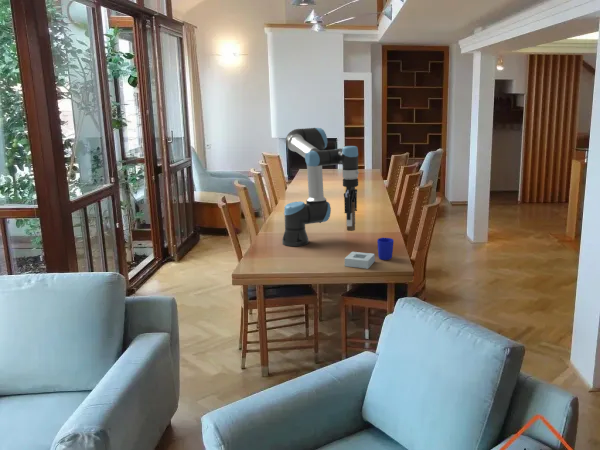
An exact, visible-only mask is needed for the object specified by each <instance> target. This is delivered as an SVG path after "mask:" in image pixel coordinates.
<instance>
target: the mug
mask: <svg viewBox="0 0 600 450" xmlns="http://www.w3.org/2000/svg"><path fill="white" fill-rule="evenodd" d="M394 241H395V240H394V239H393V238H391V237H381V238H378V239H377V254H378V255H377V256H378V258H379V259H380V260H382V261H387V260H388V261H389V260H391V259H392V258H393V251H394V250H393V249H394Z"/></svg>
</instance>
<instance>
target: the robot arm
mask: <svg viewBox="0 0 600 450" xmlns="http://www.w3.org/2000/svg"><path fill="white" fill-rule="evenodd" d="M285 145H286V147H287V149H289V150H290V151H292V152H294V153H295V152H296V153H297V154H299V155H300V156H301V157H303V159H304V160H305V161H304V162H305V163H306V171H307V188H308V189H307V190H308V197H307V199H306V201H305V202H306V203H305V202H304V201H292V202H290V203H287V204H286V205H284V210H283V211H284V213H283V215H284V232H283V236H282V240H281V241H282V245H284V246H285V247H286V246H287V247H302V246H306V245H308V244H309V236H308V234H307V231H306V225H312V224H318V223H319V224H321V223H325V222H327V221H329V219H330V217H331V213H332V212H331V211H332V210H331V209H332V208H331V204H330V202H329V201H327V198H326V197H325V196H324V182H323V181H324V179H323V177H324V176H323V167H325V166H334V165H335V166H336V165H342V178H343V179H342V186H343V187H344V188H345V192H344V193H343V198H344V199H343V200H344V201H343V204H344V212H343V213H344V214H346V227H347V226H352V213H351V210H352V202H355V212H357V211H358V204H357V203H358V201H357V200H358V197H357V196H358V189H357V187H358V186H359V174H360V171H359V148H358V146H356V145H346V146H342V148H334V149H326V148H327V147H328V136H327V133H326V131H325V130H324V129H323V128H321V127H311V128H310V127H309V128H308V127H307V128H296V129H293V130H291V131H290V132H289V133H288V134H287V135H286V137H285Z"/></svg>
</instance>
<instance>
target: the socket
mask: <svg viewBox="0 0 600 450" xmlns="http://www.w3.org/2000/svg"><path fill="white" fill-rule="evenodd" d="M375 258H376V254H375V253H370V252H369V253H368V252H359V251H358V252H357V251H351V252H350V253H349V254H348V255H346V257H344V267H350V268H359V269H366V270H369V268H371V266H372V265H373V264H374V263H375V261H376V259H375Z"/></svg>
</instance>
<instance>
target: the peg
mask: <svg viewBox="0 0 600 450" xmlns="http://www.w3.org/2000/svg"><path fill="white" fill-rule="evenodd" d="M351 213H352V226H347V225H346V231H348V232H354V231H356V211H355V202H352V210H351Z"/></svg>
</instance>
